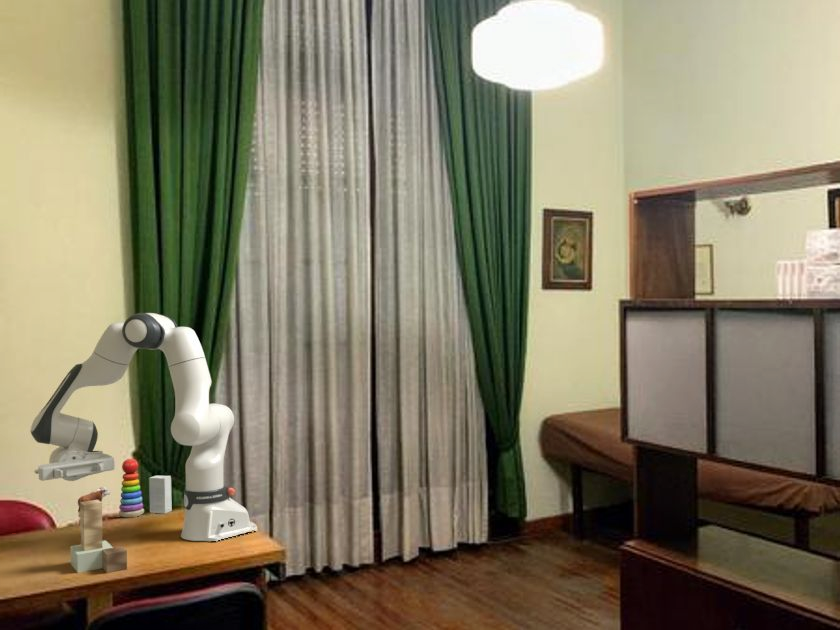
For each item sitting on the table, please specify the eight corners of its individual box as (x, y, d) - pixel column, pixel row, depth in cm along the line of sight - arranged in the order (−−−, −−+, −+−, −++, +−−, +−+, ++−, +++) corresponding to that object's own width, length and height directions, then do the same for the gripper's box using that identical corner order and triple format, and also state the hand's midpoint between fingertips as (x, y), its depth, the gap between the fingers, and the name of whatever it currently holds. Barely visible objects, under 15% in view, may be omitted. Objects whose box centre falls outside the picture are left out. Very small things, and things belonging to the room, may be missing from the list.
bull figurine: (112, 509, 266) (112, 485, 266) (83, 519, 253) (83, 494, 253) (102, 508, 267) (101, 484, 267) (73, 518, 254) (72, 493, 254)
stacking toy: (148, 512, 261) (147, 456, 261) (137, 518, 253) (136, 461, 253) (126, 511, 262) (125, 456, 262) (114, 518, 254) (113, 461, 254)
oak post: (98, 543, 209) (97, 499, 210) (102, 547, 206) (101, 502, 206) (80, 546, 207) (80, 502, 207) (84, 550, 203) (83, 505, 203)
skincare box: (172, 510, 262) (171, 475, 262) (165, 514, 258) (164, 478, 258) (156, 509, 264) (155, 475, 264) (149, 513, 260) (148, 477, 260)
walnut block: (122, 564, 206) (121, 546, 206) (127, 569, 202) (126, 550, 202) (102, 568, 204) (102, 549, 204) (107, 573, 199) (106, 554, 199)
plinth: (105, 558, 213) (105, 540, 213) (114, 566, 205) (113, 548, 205) (70, 564, 208) (70, 546, 208) (77, 573, 200) (77, 554, 200)
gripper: (32, 459, 222) (40, 466, 211) (107, 449, 234) (118, 455, 223) (33, 481, 222) (42, 489, 211) (108, 470, 234) (119, 476, 223)
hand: (82, 471), depth 217 cm, fingers open, 8 cm apart
